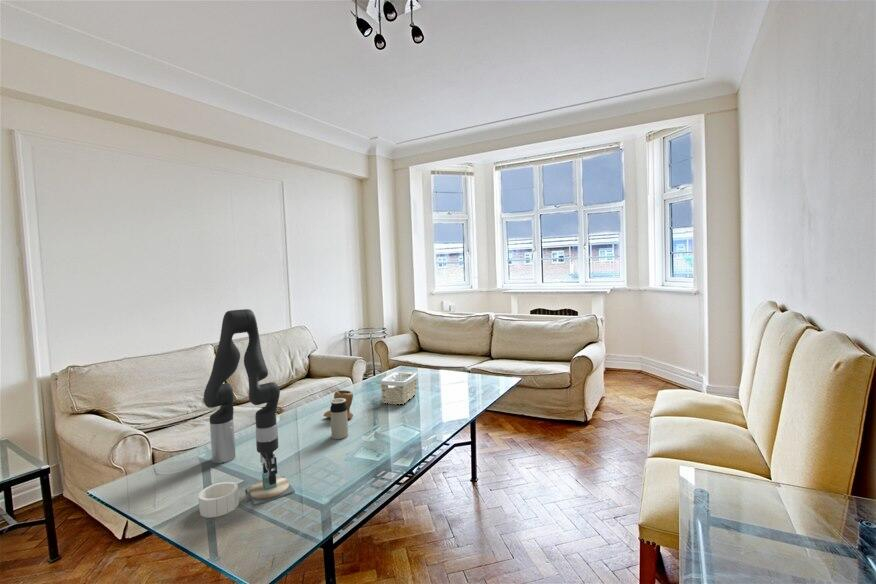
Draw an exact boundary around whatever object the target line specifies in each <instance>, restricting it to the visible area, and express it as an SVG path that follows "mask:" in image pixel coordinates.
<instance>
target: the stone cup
mask: <svg viewBox="0 0 876 584" xmlns="http://www.w3.org/2000/svg"><path fill="white" fill-rule="evenodd" d="M337 398H344V399H346V402H345V404H346V405H347V419H348V420H349V419H352V418H353V417H354V414H353V413H352V412H351V410H350V409H351V405H352V403H353V399H354V394H353V392H352V391H351V390H345V389H343V390H342V389H337V390H336V391H335V392H334V396H333V399H337ZM323 416H324V417H326V418H328V419H329V418H330V419H331V414H330V410H328V411H326V412H324V413H323Z"/></svg>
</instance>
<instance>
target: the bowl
mask: <svg viewBox="0 0 876 584" xmlns="http://www.w3.org/2000/svg"><path fill="white" fill-rule="evenodd" d="M197 496H198V508H199V509H198V510H199V515H200V516H201V517H203V518H206V519H207V518H218V517H221V516H223V515H227V514H230V513H231V512H232V511H234V510H235V509H237V507H238V505H239V504H240V495H239V486H238V484H237V483H236V482H234V481H233V482H232V481H222V482H218V483H217V482H216V483H214V484H211V485H208V486H206V487H205V488H203V489H202V490H201V491H200V492H199V493H198V495H197Z"/></svg>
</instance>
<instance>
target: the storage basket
mask: <svg viewBox="0 0 876 584" xmlns="http://www.w3.org/2000/svg"><path fill="white" fill-rule="evenodd" d="M404 377H405V378H404ZM417 381H418V372H417V371H415V372H411V371H395V372H393V373H391V374H389V375H387V376H386V377H383V378H382V379H381V380H380V390H381V399H382V404H385V403H386V404H387V403H388V405H397V404H399V405H400V404H403V405H405V404H406V403H407V402H409V401H410V400H411V399H412V398H414V397H415V396H416V395H417V386H418V385H417V384H418V383H417ZM415 394H416V395H415ZM414 395H415V396H414ZM413 396H414V397H413ZM409 399H410V400H409ZM408 400H409V401H408ZM404 403H405V404H404Z"/></svg>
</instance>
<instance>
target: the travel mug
mask: <svg viewBox="0 0 876 584" xmlns="http://www.w3.org/2000/svg"><path fill="white" fill-rule="evenodd" d="M345 402H346V399H344V398H337V399H334V398H333V399H331V400H330V402H329V403H331V404H330V405H331V406H330V407H329V408H330V409H329V411H330V414H331V418H330V432H331V438H332V439H335V440H342V438H343V439H345V438H347V437H348V436H349V428H348V427H349V426H348V422H349V421H348V420H349V419H347V405H346V404H345Z"/></svg>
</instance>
